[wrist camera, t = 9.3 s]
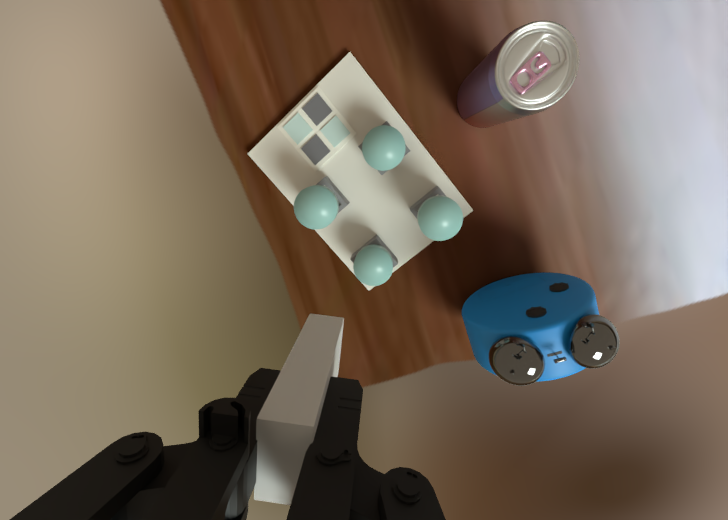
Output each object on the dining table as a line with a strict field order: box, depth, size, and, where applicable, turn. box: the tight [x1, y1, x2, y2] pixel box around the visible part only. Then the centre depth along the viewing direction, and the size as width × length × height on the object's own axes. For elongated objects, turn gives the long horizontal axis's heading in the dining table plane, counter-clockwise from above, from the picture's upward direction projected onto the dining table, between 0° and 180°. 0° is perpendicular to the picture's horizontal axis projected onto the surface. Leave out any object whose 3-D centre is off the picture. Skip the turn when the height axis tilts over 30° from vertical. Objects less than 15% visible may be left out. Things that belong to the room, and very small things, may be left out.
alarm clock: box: [462, 273, 619, 386], centre depth 38 cm, size 13×6×15 cm, turn 110°
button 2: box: [294, 185, 339, 229], centre depth 38 cm, size 4×4×4 cm
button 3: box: [417, 195, 463, 241], centre depth 38 cm, size 4×4×4 cm
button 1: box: [362, 125, 406, 171], centre depth 38 cm, size 4×4×4 cm
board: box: [248, 52, 473, 290], centre depth 41 cm, size 16×22×3 cm
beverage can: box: [457, 21, 579, 128], centre depth 32 cm, size 6×6×15 cm
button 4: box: [353, 244, 393, 286], centre depth 42 cm, size 4×4×4 cm
